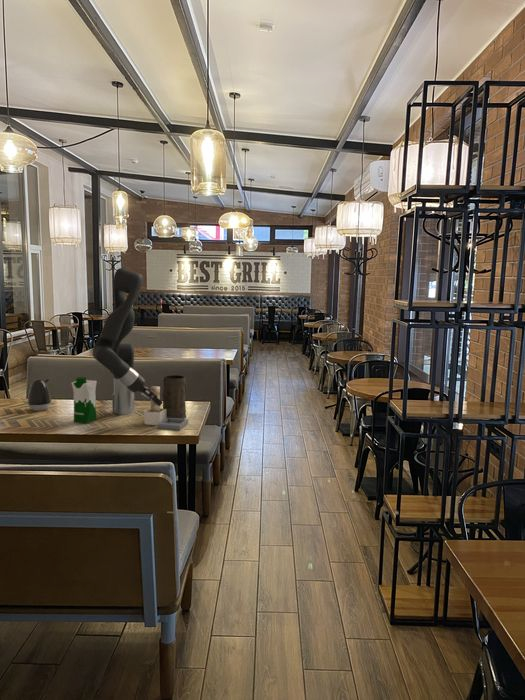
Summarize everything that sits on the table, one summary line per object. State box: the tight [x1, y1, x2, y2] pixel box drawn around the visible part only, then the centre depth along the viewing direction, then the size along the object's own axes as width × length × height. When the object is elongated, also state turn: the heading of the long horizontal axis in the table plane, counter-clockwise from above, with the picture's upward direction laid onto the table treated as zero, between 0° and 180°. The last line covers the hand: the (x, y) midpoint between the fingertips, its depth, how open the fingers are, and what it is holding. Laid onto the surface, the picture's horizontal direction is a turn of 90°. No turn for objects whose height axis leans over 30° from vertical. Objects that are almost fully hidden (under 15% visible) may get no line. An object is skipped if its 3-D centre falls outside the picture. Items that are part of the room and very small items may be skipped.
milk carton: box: [71, 376, 98, 424], centre depth 214 cm, size 9×9×20 cm
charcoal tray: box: [157, 418, 189, 431], centre depth 209 cm, size 10×10×2 cm
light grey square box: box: [143, 407, 166, 426], centre depth 213 cm, size 7×7×6 cm
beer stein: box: [162, 374, 187, 419], centre depth 223 cm, size 15×11×20 cm
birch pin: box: [150, 385, 161, 413], centre depth 212 cm, size 4×4×16 cm
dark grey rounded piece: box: [27, 378, 52, 412], centre depth 231 cm, size 10×10×15 cm
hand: (157, 402), depth 213 cm, fingers open, 8 cm apart
